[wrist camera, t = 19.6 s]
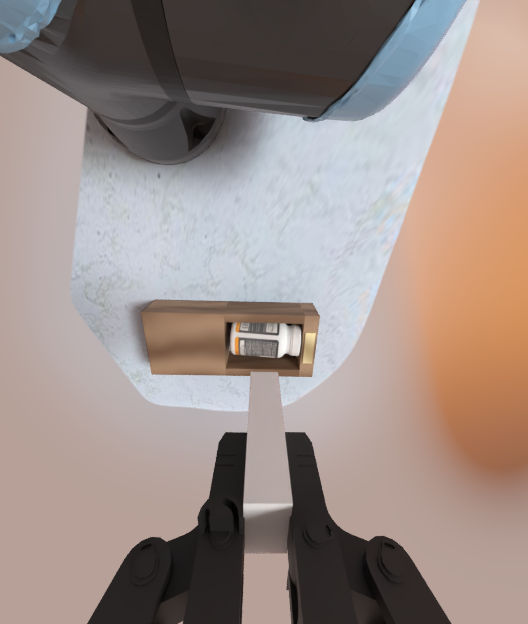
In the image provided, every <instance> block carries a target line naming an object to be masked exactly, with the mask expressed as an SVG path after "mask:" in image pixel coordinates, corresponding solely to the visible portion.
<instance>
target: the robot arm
mask: <svg viewBox="0 0 528 624" xmlns="http://www.w3.org/2000/svg"><path fill="white" fill-rule="evenodd" d="M465 2H466V0H0V56H2V57H3V58H5V59H7V60H9V61H10V62H12V63H14V64H15V65H17V66H19V67H21V68H22V69H24V70H25V71H27V72H29V73H31V74H32V75H34V76H36V77H37V78H39V79H41V80H42V81H44V82H46V83H48V84H49V85H51V86H53V87H54V88H56V89H58V90H59V91H61V92H63V93H64V94H66V95H68V96H70V97H71V98H73V99H75V100H76V101H78V102H80V103H81V104H83V105H85V106H87V107H88V108H90V110H91V111H92V112H93V113H94V115H95V117H96V118H97V120H98V121H99V122H100V124H101V125H102V126H103V128H104V129H105V130H106V131H107V132H108V134H109V135H110V136H111V137H112V138H113V139H115V140H116V141H117V142H118V143H119V144H120V145H122V146H123V147H124V148H126V149H127V150H129V151H130V152H132V153H134V154H136V155H138V156H140V157H142V158H144V159H146V160H149V161H152V162H155V163H159V164H180V163H184V162H187V161H190V160H192V159H194V158H196V157H197V156H199V155H200V154H201V153H203V152H204V151H205V150H206V149H207V148H208V147H209V146H210V145H211V143H212V142H213V141H214V139H215V137H216V136H217V134H218V132H219V130H220V128H221V125H222V122H223V119H224V115H225V111H226V108H230V109H239V110H248V111H256V112H265V113H273V114H282V115H290V116H299V117H302V118H303V120H305V121H308V122H317V121H322V120H325V119H328V120H343V121H358V120H362V119H365V118H366V117H368V116H372V115H374V114H375V113H377V112H379V111H381V110H382V109H384V108H385V107H386V106H387V105H389V104H390V103H391V102H392V101H393V100H394V99H395V98H396V97H397V96H398V95H399V94H400V93H401V92H402V91H403V90H404V89H405V88H406V87H407V86H408V85H409V84H410V82H411V81H412V80H413V79H414V78H415V76H416V75H417V74H418V73H419V71H420V70H421V69H422V67H423V66H424V65H425V63H426V62H427V61H428V59H429V58H430V57H431V55H432V54H433V52H434V51H435V49H436V48H437V46H438V45H439V43H440V42H441V40H442V39H443V37H444V36H445V35H446V33H447V32H448V30H449V28H450V27H451V25H452V23H453V22H454V20H455V18H456V17H457V15H458V13H459V12H460V10H461V8H462V7H463V5H464V4H465ZM287 549H288V560H289V571H288V578H287V590H289V598H290V611H291V624H451V622H450V621H449V619H448V618H447V616H446V614H445V613H444V611H443V609H442V608H441V606H440V605H439V603H438V602H437V600H436V598H435V597H434V595H433V593H432V592H431V590H430V589H429V587H428V586H427V584H426V582H425V580H424V579H423V577H422V576H421V574H420V572H419V571H418V569H417V567H416V566H415V564H414V562H413V561H412V559H411V558H410V556H409V555H408V554H407V552H406V551H405V550H404V549H403V547H402V546H400V545H399V544H398V543H397V542H395V541H394V540H393V539H390V538H388V537H385V536H376V537H374V538H373V539H371V540H370V541H367V540H364V539H362V538H359V537H356V536H354V535H351V534H349V533H347V532H345V531H344V530H342V529H341V528H340V527H338V526H337V524H336V523H335V522H334V521H333V520H332V518H331V517H330V515H329V513H328V510H327V507H326V504H325V499H324V495H323V490H322V486H321V481H320V477H319V472H318V468H317V463H316V459H315V456H314V450H313V446H312V442H311V441H310V439H309V438H308V436H307V435H306V434H305V433H303V432H302V433H300V432H298V433H297V432H285V431H284V421H283V412H282V403H281V394H280V385H279V376H278V372H251V377H250V395H249V412H248V431H247V433H233V432H229V433H228V432H226V433H225V434H224V436H223V437H222V439H221V440H220V442H219V445H218V450H217V457H216V462H215V468H214V473H213V479H212V484H211V490H210V496H209V499H208V500H207V501H206V502H205V504H204V505H203V506H202V508H201V510H200V512H199V515H198V526H197V527H195V528H194V529H193V530H192V531H191V532H189V533H187V534H185V535H183V536H180V537H178V538H176V539H173V540H170V541H168V542H166V541H164V540H163V539H161V538H158V537H150V538H148V539H145V540H143V541H141V542H140V543H139V544H137V545H136V546H135V547H134V548H132V550H131V551H130V553H129V554H128V555H127V556H126V558H125V559H124V561H123V563H122V565H121V566H120V568H119V570H118V571H117V573H116V575H115V576H114V578H113V580H112V582H111V583H110V585H109V587H108V589H107V591H106V592H105V594H104V596H103V597H102V599H101V601H100V603H99V604H98V606H97V608H96V609H95V611H94V613H93V615H92V616H91V618H90V620H89V622H88V623H87V624H178V623H180V622H182V621H183V624H242V602H243V601H242V600H243V569H244V553H287Z"/></svg>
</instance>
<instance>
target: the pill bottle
mask: <svg viewBox="0 0 528 624" xmlns="http://www.w3.org/2000/svg"><path fill="white" fill-rule="evenodd" d="M300 345H301V326H300V324H291V325H286V323H242V322H233V323H232V328H231V335H230V349H231V352H232V353H233V354H235V355H247V356H259V357H272V358H280V357H282V356H283V355H284V354H286V353H287V354H289V355H291V356H298V355H299V352H300Z"/></svg>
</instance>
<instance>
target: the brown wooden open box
mask: <svg viewBox="0 0 528 624" xmlns="http://www.w3.org/2000/svg"><path fill="white" fill-rule="evenodd" d="M141 315H142V321H143V327H144V333H145V339H146V344H147V350H148V356H149V362H150V367H151V373H152V374H163V375H228V376H251V372H278V376H292V377H312V373H313V365H314V357H315V350H316V342H317V334H318V326H319V318H320V316H319V314H318V312H317V310H316V309H315V307H314V305H313V303H276V302H233V301H190V300H155V301H154V302H152V303H151V304H150V305H149V306H148V307H146V308H145V309H144V310H143V311H142V312H141ZM229 322H242V323H289V324H300V326H301V345H300V352H299V355H298V356H291V355H289V354H287V353H286V354H284V355H283V356H282V357H280V358H272V357H259V356H247V355H235V354H233V353H232V352H231V351H229Z"/></svg>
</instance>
